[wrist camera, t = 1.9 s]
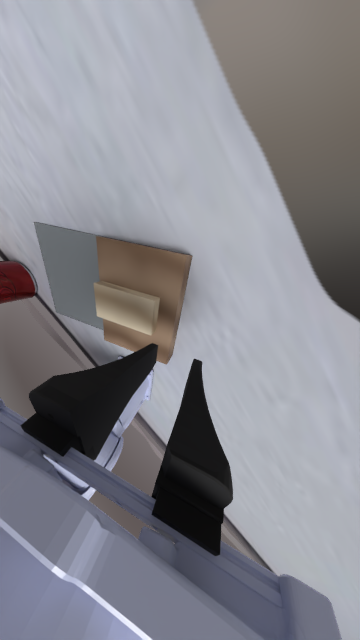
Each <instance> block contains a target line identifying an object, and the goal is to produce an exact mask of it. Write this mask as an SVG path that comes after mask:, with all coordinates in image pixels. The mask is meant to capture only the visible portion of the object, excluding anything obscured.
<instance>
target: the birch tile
mask: <svg viewBox="0 0 360 640" xmlns="http://www.w3.org/2000/svg"><path fill="white" fill-rule="evenodd" d="M94 293H95V302H96V312H97V316H98V317H100V318H103V319H106V320H109V321H112V322H114V323H117V324H120V325H123V326H126V327H128V328H131V329H134V330H137V331H139V332H142V333H145V334H148V335H152V334H153V333H154V332H155V331H156V327H157V318H158V310H159V302H160V298H159V297H155V296H152V295H148V294H145V293H141V292H138V291H135V290H131V289H128V288H124V287H121V286H118V285H114V284H111V283H107V282H104V281H100V282H95V283H94Z"/></svg>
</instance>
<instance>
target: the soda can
mask: <svg viewBox="0 0 360 640" xmlns="http://www.w3.org/2000/svg"><path fill="white" fill-rule="evenodd" d="M36 292H37V285H36V281H35V279H34V277H33V275H32V274H31V272H30V271H29V270H28V269H27V268H26V267H25V266H24V265H22V264H20V263H18V262H16V261H0V304H2V303H6V302H12V301H17V300H22V299H27V298H32V297H33V296H34V295H35V294H36Z"/></svg>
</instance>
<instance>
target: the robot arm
mask: <svg viewBox="0 0 360 640" xmlns="http://www.w3.org/2000/svg"><path fill="white" fill-rule="evenodd" d="M157 351H158V345H156V344H154V343H151V344H149V345H147V346H145V347H144V348H142V349H140V350H138V351H136V352H134V353H132V354H130V355H128V356H126V357H124V358H123V357H121V356H119V357H118V360H117V361H114V362H111V363H108V364H105V365H102V366H99V367H95V368H92V369H88V370H84V371H79V372H75V373H69V374H63V375H57V376H53V377H52V378H50V379H49V380H47V381H46V382H44V383H43V384H41V385H40V386H38V387H37V388H35V389H34V390H32V391H31V392H30V393H29V398H30V401H31V403H32V405H33V407H34V409H35V411H36V413H35V414H34V415H33V416H32V417H30V418H29V419H28V420H27V419H26V418H24V417H23V416H21V415H19V414H18V413H16V412H14V411H13V410H11V409H10V408H8V407H6V406H5V403H4V402H3V400H2V399H1V398H0V640H342V638H341V634H340V631H339V628H338V624H337V621H336V617H335V614H334V610H333V607H332V604H331V602H330V601H329V599H328V598H327V597H326V596H324V595H322V594H321V593H319V592H318V591H316V590H314V589H313V588H311V587H309V586H308V585H306V584H304V583H303V582H301V581H300V580H298V579H296V578H294V577H292V576H289V575H285V574H283V575H280V576H277V575H276V574H274V573H272V572H271V571H269V570H268V569H266V568H264V567H263V566H261V565H260V564H258V563H256V562H255V561H253V560H252V559H250V558H248V557H247V556H245V555H244V554H242V553H240V552H239V551H237V550H236V549H234V548H232V547H231V546H229V545H228V544H226V543H224V542H222V541H221V524H222V523H223V515H224V508H225V507H226V506H227V505H229V504H230V503H231V502H232V500H233V488H232V478H231V471H230V466H229V462H228V460H227V458H226V456H225V454H224V451H223V449H222V446H221V444H220V442H219V439H218V436H217V434H216V431H215V428H214V425H213V423H212V420H211V417H210V413H209V410H208V406H207V402H206V398H205V393H204V387H203V380H202V361H199V360H197V359H194V360H193V363H192V366H191V369H190V373H189V376H188V379H187V383H186V386H185V390H184V394H183V398H182V402H181V407H180V410H179V413H178V415H177V418H176V421H175V424H174V427H173V430H172V433H171V436H170V439H169V441H168V444H167V448H166V451H165V454H164V458H163V461H162V465H161V468H160V471H159V474H158V477H157V480H156V483H155V487H154V490H153V494H152V497H151V496H149V495H147V494H146V493H144V492H143V491H141V490H139V489H138V488H136V487H135V486H133V485H131V484H130V483H128V482H127V481H125V480H123V479H122V478H120V477H119V476H117V475H115V474H114V473H112V472H111V470H112V468H113V467H114V465H115V463H116V462H117V460H118V458H119V455H120V453H121V451H122V448H123V437H122V436H121V435H122V433H123V432H124V430H125V429H126V428H127V427H128V426H129V424H130V423H131V421H132V419H133V418H134V416H135V415H136V413H137V411H138V410H139V408H140V406H141V405H142V403H143V401H144V400H147V401H149V400H150V394H151V386H152V379H153V370H152V369H153V367H154V365H155V363H156V359H157ZM96 490H97V491H98V492H100V493H101V494H103V495H104V496H106V497H107V498H109V499H110V500H111V501H113V502H114V503H116V504H118V505H119V506H120V507H122V508H124V509H125V510H127V511H128V512H129V513H131V514H132V515H134V516H136V517H137V518H138V519H140V520H141V521H143V522H144V523H146V524H147V525H149V526H151V527H152V528H153V529H155V530H156V531H157V532H156V531H154V530H152V529H149V528H147V527H143V528H142V530H141V533H140V536H139V539H137V538H136V537H134V536H133V535H132V534H131V533H129V532H128V531H127V530H126V529H124V528H123V527H122V526H120V525H119V524H118V523H117V522H115V521H114V520H113V519H112V518H110V517H109V516H108V515H107V514H105V513H104V512H103V511H101V510H100V509H99V508H97V507H96V506H95V505H94V504H92V503H91V502H89V501H88V500H89V499H90V498H91V496H92V495H93V494H94V492H95V491H96ZM158 532H159V533H158ZM173 542H174V543H175V544H174V543H173Z"/></svg>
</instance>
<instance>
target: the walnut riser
mask: <svg viewBox="0 0 360 640" xmlns="http://www.w3.org/2000/svg"><path fill="white" fill-rule="evenodd" d="M96 243H97V255H98V267H99V279H100V281H104V282H107V283H111V284H114V285H118V286H121V287H124V288H128V289H131V290H135V291H138V292H141V293H145V294H148V295H152V296H155V297H159V298H160V302H159V310H158V318H157V327H156V331H155V332H154V333H153V334H152V335H148V334H145V333H142V332H139V331H137V330H134V329H131V328H128V327H126V326H123V325H120V324H117V323H114V322H112V321H109V320H106V319H103V327H104V340H106V341H109V342H111V343H114V344H116V345H119V346H121V347H124V348H126V349H129V350H131V351H134V352H136V351H138V350H140V349H142V348H144V347H145V346H147V345H149V344H151V343H154V344H156V345H158V351H157V359H156V361H159V362H161V363H164V364H167V363H168V362H169V360H170V358H171V356H172V354H173V349H174V344H175V340H176V335H177V330H178V325H179V320H180V315H181V310H182V305H183V300H184V295H185V290H186V285H187V280H188V275H189V270H190V265H191V260H192V256H191V255H187V254H182V253H177V252H173V251H168V250H163V249H158V248H154V247H149V246H144V245H140V244H135V243H130V242H126V241H121V240H116V239H112V238H106V237H99V236H96Z"/></svg>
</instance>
